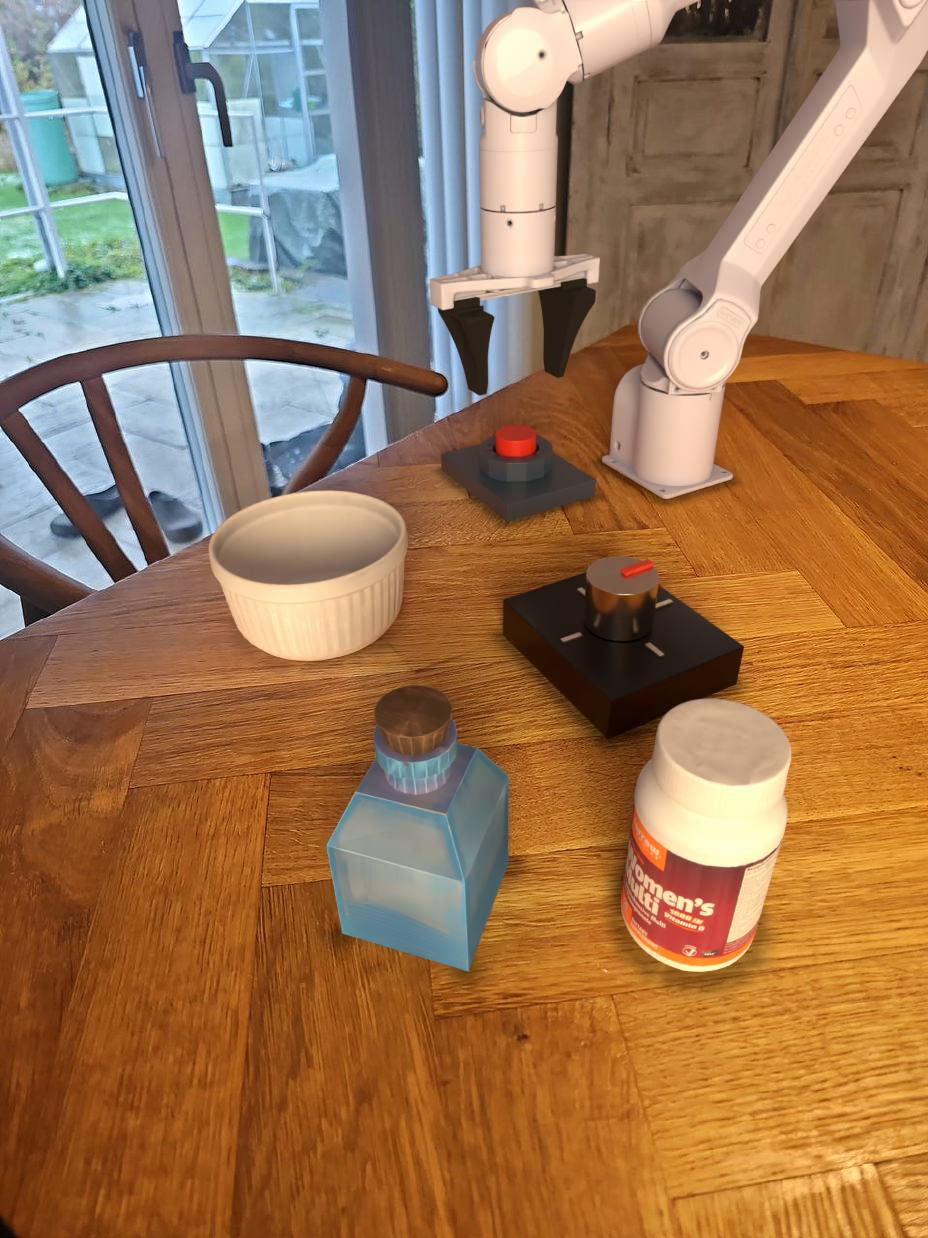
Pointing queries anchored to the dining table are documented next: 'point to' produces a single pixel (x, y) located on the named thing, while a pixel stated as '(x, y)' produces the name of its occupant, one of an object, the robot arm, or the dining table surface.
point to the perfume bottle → (422, 835)
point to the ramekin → (312, 572)
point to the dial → (620, 598)
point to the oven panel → (620, 656)
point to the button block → (518, 478)
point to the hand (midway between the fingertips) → (516, 382)
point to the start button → (515, 441)
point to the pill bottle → (705, 833)
